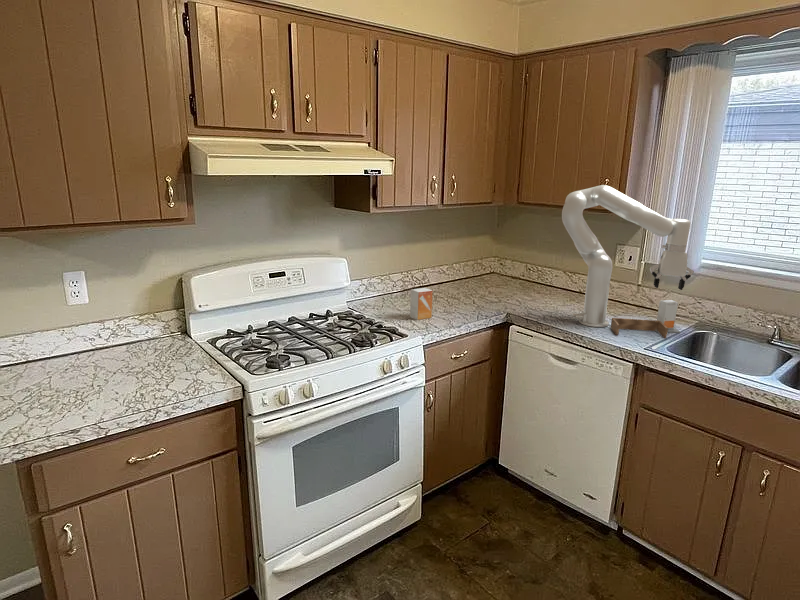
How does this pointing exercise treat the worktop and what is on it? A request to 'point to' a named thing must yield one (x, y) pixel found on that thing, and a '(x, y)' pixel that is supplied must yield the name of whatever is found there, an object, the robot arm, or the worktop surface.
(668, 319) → the skincare box
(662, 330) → the brown u-shaped bracket
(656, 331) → the mat
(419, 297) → the small box
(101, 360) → the worktop surface
